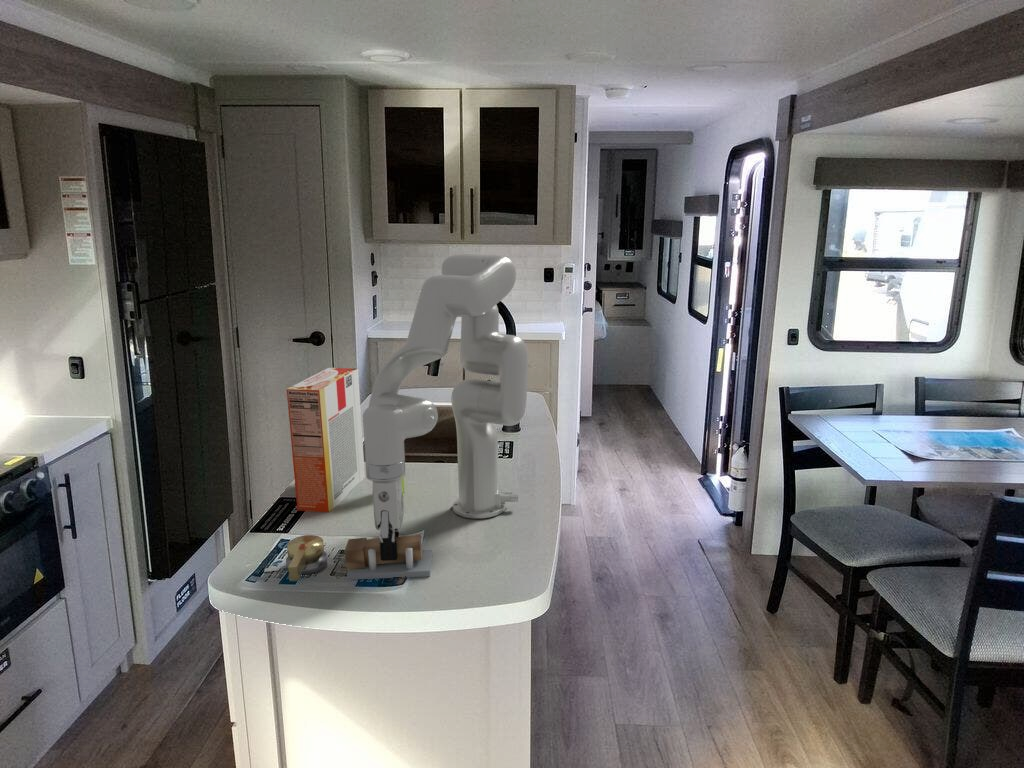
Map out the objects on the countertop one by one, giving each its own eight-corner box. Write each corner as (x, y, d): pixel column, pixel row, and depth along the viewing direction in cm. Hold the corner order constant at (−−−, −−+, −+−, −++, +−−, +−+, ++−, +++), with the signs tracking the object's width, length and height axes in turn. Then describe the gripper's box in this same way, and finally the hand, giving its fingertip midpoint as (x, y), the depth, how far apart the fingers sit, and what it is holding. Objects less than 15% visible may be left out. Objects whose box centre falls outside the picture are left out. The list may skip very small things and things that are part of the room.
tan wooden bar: (423, 550, 147) (420, 532, 146) (421, 562, 142) (419, 543, 141) (351, 557, 146) (348, 539, 146) (347, 569, 141) (344, 551, 140)
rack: (432, 554, 150) (431, 531, 148) (429, 576, 141) (428, 552, 140) (354, 557, 149) (352, 534, 148) (347, 579, 140) (345, 555, 139)
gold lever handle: (292, 547, 148) (291, 533, 147) (327, 546, 148) (326, 532, 148) (274, 581, 134) (273, 566, 134) (312, 580, 135) (311, 565, 134)
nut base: (331, 556, 149) (330, 547, 149) (323, 575, 142) (322, 566, 141) (271, 558, 149) (270, 549, 148) (260, 577, 141) (259, 568, 141)
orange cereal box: (336, 476, 195) (328, 367, 188) (364, 477, 193) (357, 368, 186) (297, 510, 173) (286, 389, 166) (328, 512, 171) (319, 390, 164)
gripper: (401, 483, 132) (405, 574, 136) (408, 453, 148) (412, 536, 152) (359, 484, 132) (365, 576, 136) (371, 454, 148) (376, 537, 152)
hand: (390, 554), depth 144 cm, fingers closed on tan wooden bar, 3 cm apart
